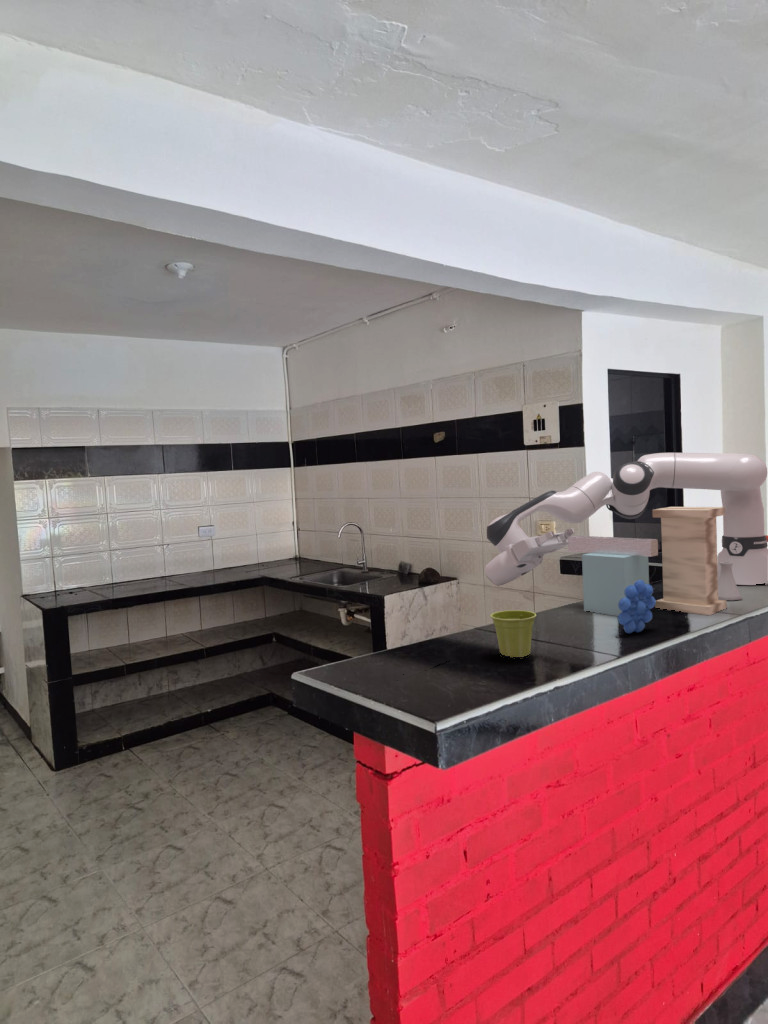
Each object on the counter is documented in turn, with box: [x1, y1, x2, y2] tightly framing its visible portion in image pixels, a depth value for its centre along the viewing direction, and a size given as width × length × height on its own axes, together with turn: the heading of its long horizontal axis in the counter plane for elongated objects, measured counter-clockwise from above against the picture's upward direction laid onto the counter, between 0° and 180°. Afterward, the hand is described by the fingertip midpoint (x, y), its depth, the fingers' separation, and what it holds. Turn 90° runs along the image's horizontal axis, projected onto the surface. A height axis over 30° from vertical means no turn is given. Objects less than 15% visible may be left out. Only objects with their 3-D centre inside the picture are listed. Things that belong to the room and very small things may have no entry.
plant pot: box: [490, 609, 537, 658], centre depth 143 cm, size 9×9×9 cm
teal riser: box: [581, 553, 650, 617], centre depth 179 cm, size 12×12×15 cm
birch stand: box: [652, 506, 728, 616], centre depth 176 cm, size 10×14×26 cm
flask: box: [718, 562, 743, 601], centre depth 186 cm, size 7×7×10 cm
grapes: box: [617, 580, 657, 634], centre depth 156 cm, size 12×7×12 cm, turn 120°
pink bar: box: [567, 535, 659, 558], centre depth 180 cm, size 4×24×4 cm, turn 41°
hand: (562, 532), depth 190 cm, fingers open, 8 cm apart
